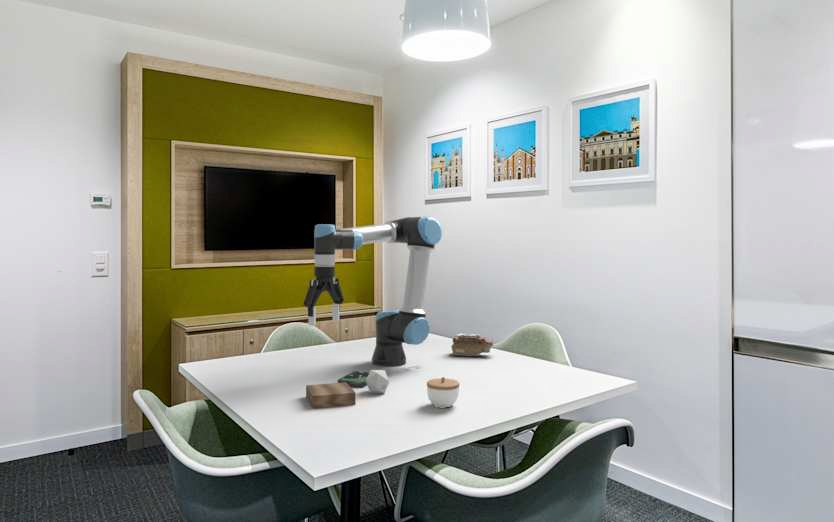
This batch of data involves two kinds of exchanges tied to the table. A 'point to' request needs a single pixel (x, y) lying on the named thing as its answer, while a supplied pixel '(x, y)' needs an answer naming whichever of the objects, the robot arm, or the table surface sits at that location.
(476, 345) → the decorative box
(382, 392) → the die
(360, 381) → the disk drive
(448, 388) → the lidded jar
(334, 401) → the walnut base
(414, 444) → the table surface
